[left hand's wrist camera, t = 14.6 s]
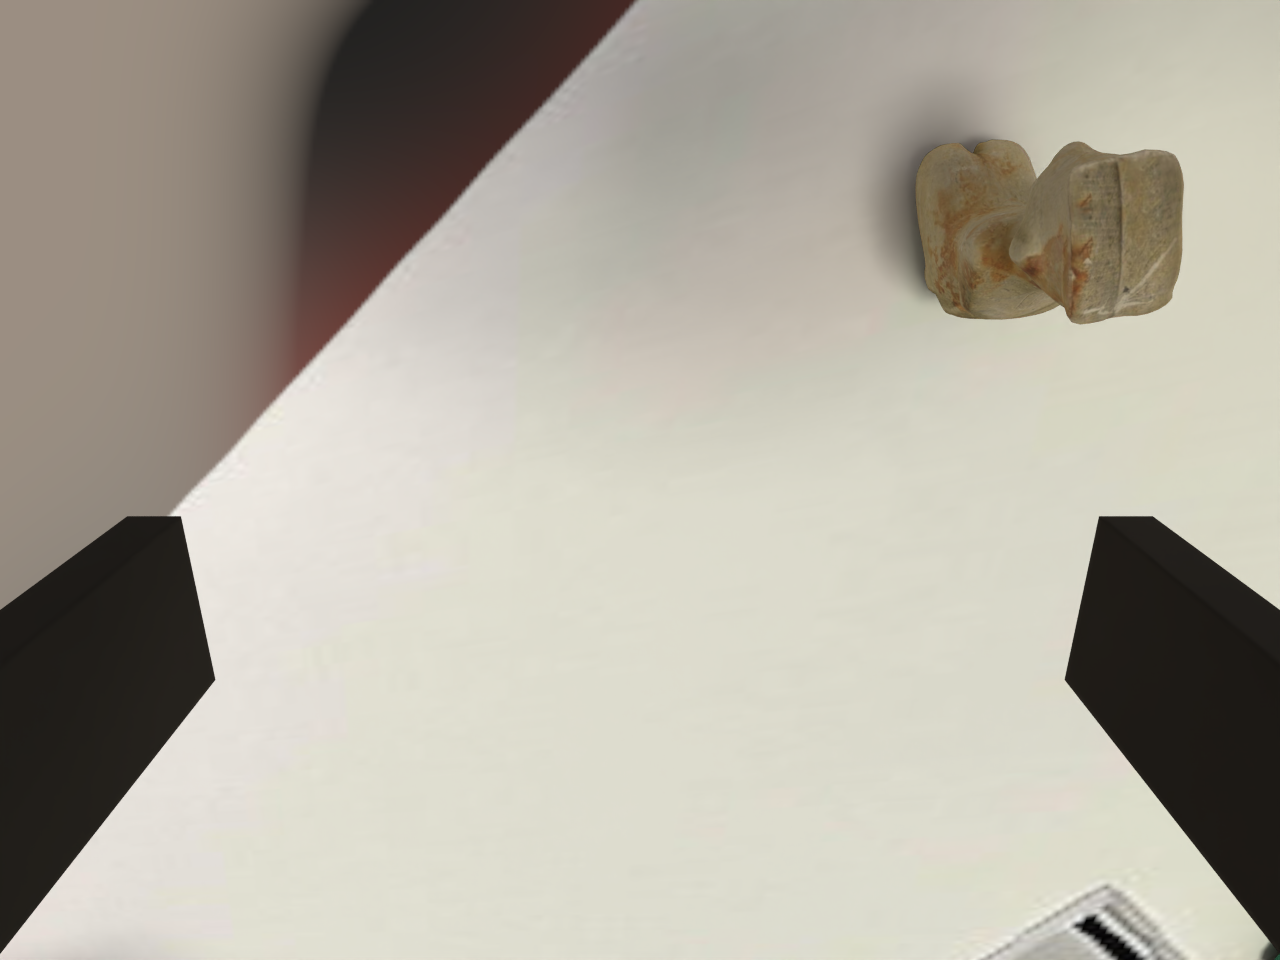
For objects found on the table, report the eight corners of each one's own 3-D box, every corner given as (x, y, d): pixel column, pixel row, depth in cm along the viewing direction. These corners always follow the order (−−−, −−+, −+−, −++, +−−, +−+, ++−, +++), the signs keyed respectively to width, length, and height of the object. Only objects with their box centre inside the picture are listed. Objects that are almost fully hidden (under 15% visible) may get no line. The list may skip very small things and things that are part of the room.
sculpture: (1029, 134, 39) (1249, 132, 25) (1017, 297, 41) (1209, 378, 27) (897, 145, 39) (1042, 150, 25) (893, 307, 41) (1022, 392, 27)
